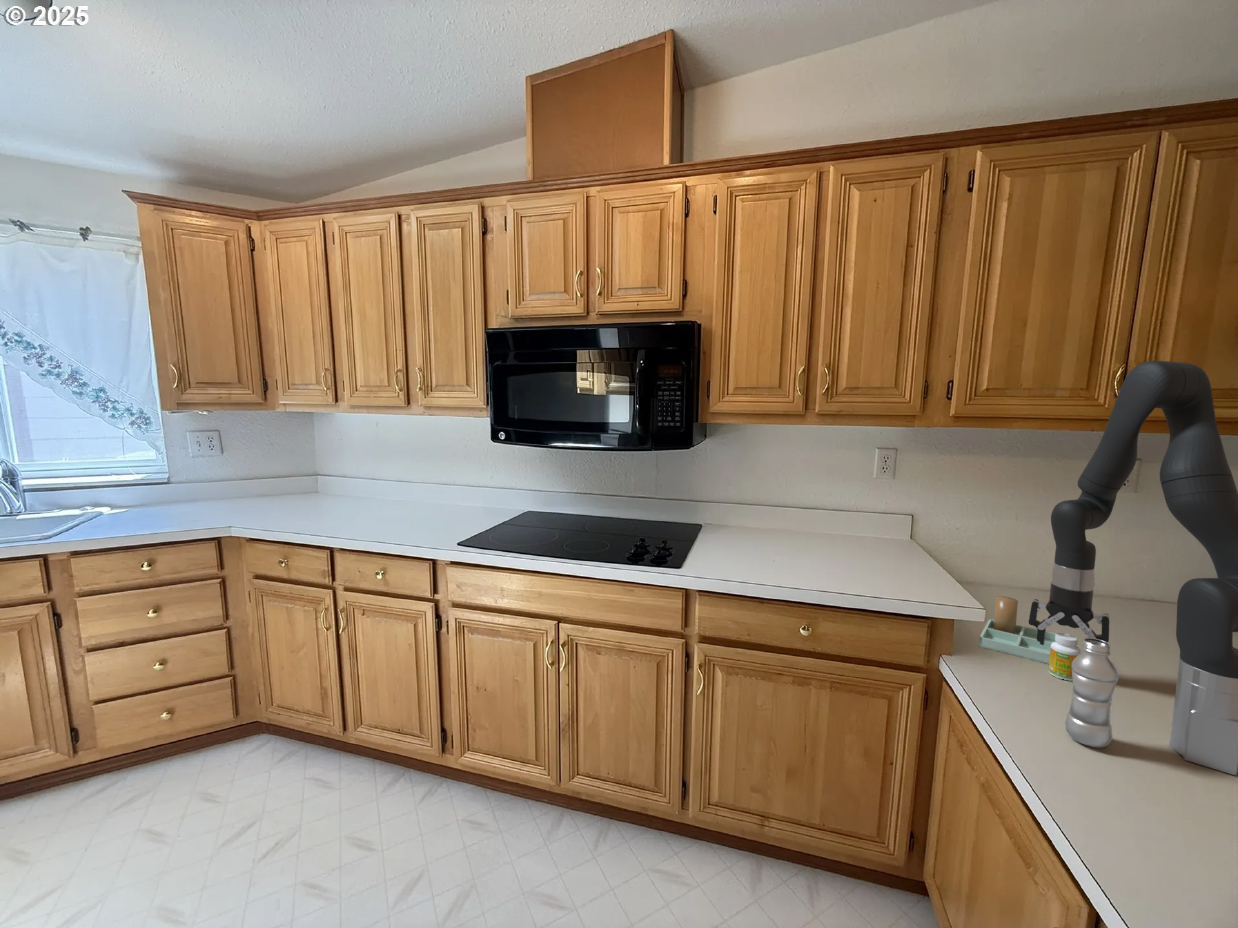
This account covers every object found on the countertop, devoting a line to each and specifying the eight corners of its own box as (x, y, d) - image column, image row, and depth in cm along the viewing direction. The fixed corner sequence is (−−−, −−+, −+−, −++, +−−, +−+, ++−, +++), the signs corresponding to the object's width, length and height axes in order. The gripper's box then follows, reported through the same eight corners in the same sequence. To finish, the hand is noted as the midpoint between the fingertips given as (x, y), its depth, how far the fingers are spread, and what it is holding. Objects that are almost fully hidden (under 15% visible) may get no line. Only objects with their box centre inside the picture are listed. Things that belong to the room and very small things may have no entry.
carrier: (1055, 665, 128) (1056, 656, 127) (978, 646, 138) (979, 637, 138) (1060, 643, 139) (1061, 634, 139) (988, 626, 150) (989, 618, 150)
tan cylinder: (1014, 639, 141) (1016, 604, 140) (992, 634, 144) (994, 599, 143) (1016, 633, 144) (1018, 599, 143) (995, 628, 147) (997, 594, 146)
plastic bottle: (1063, 726, 104) (1071, 631, 102) (1109, 739, 100) (1119, 640, 98) (1064, 743, 99) (1073, 643, 97) (1113, 757, 95) (1123, 653, 93)
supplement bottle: (1051, 678, 122) (1054, 638, 121) (1045, 667, 127) (1048, 629, 126) (1081, 683, 120) (1085, 643, 119) (1074, 672, 124) (1077, 633, 123)
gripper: (1031, 581, 123) (1025, 645, 125) (1113, 596, 113) (1106, 666, 115) (1035, 572, 128) (1029, 634, 131) (1114, 586, 119) (1106, 653, 121)
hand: (1065, 649), depth 123 cm, fingers open, 8 cm apart
